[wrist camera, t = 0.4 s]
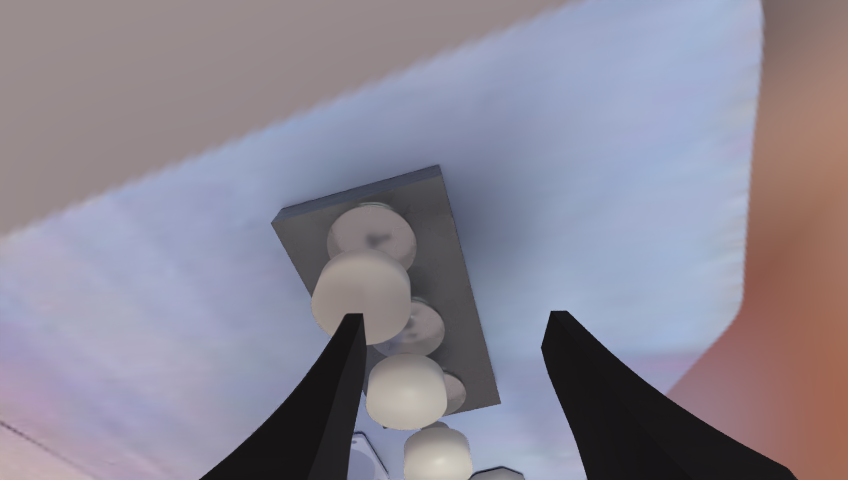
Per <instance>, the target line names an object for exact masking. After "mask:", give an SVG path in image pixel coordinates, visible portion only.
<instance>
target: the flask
mask: <svg viewBox="0 0 848 480" xmlns="http://www.w3.org/2000/svg"><path fill="white" fill-rule="evenodd" d="M469 480H525V479H524V477H523V475H520V474H518V473H515V472H512V471H510V470H507V469H504V468H501V469H497V470H492V471H488V472H484V473H479V474H476V475H475V476H473V477H472V478H471V479H469Z"/></svg>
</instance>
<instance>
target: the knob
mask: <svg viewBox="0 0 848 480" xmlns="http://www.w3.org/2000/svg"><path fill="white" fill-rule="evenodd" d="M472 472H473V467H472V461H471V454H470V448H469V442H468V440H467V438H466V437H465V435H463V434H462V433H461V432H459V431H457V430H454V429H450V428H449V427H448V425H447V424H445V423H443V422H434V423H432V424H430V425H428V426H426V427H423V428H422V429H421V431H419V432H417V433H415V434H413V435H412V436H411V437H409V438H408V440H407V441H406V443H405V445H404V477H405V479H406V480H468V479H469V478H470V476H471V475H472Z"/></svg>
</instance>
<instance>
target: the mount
mask: <svg viewBox="0 0 848 480" xmlns="http://www.w3.org/2000/svg"><path fill="white" fill-rule="evenodd" d="M271 225H272V226H273V228H274V230H275V232H276V234H277V235H278V237H279V239H280V241H281V243H282V245H283V246H284V248H285V250H286V252H287V254H288V255H289V257H290V259H291V261H292V263H293V264H294V266H295V268H296V270H297V272H298V274H299V275H300V277H301V279H302V281H303V283H304V284H305V286H306V288H307V290H308V292H309V294H310V295H311V297H312V296H313V293H314V290H315V288H316V285H317V283H318V280H319V277H320V275H321V272H322V270H323V268H324V267H325V265H326V264H327V263H328V262H329V261H330V260H331V259H332V258H333V257H335V256H336V255H338V254H340V253H342V252H345V251H348V250H352V249H361V248H363V249H374V250H378V251H381V252H384V253H386V254H388V255H390V256H392V257H393V258H394V259H396V260H397V261H398V262H399V263H400V264H401V265H402V266H403V267H404V269H405V270H406V272H407V274H408V276H409V280H410V288H411V313H410V317H409V320H408V322H407V324H406V325H405V327H404V328H403V329H402V330H401V331H400V332H399V333H398V334H397V335H396V336H394V337H392V338H391V339H389V340H386V341H384V342H381V343H377V344H372V345H367V357H366V368H365V377H364V383H363V388H362V390H363V392H364V394H365V395H366V397H367V390H368V381H369V375H370V372H371V370H372V369H373V367H374V366H375V365H376V364H377V363H379V362H380V361H381V360H383V359H385V358H387V357H390V356H393V355H397V354H400V353H406V352H408V353H414V354H418V355H422V356H426V357H428V358H430V359H432V360H433V361H435V362H436V363H437V364H438V365H439V366H440V367H441V369H442V371H443V373H444V379H445V387H446V396H447V408H446V410H445V412H444V414H443V415H442V416H446V415H451V414H455V413H460V412H465V411H469V410H474V409H479V408H483V407H488V406H493V405H497V404H501V401H500V398H499V394H498V390H497V386H496V382H495V378H494V374H493V371H492V367H491V363H490V359H489V355H488V351H487V347H486V344H485V340H484V336H483V332H482V328H481V324H480V320H479V317H478V313H477V309H476V305H475V301H474V297H473V293H472V290H471V286H470V282H469V278H468V274H467V270H466V266H465V262H464V259H463V255H462V251H461V247H460V243H459V239H458V235H457V232H456V228H455V224H454V220H453V216H452V212H451V208H450V205H449V201H448V197H447V193H446V189H445V185H444V181H443V178H442V174H441V170H440V167H439V165H436V166H433V167H429V168H425V169H422V170H418V171H415V172H411V173H408V174H404V175H401V176H397V177H394V178H390V179H387V180H383V181H379V182H376V183H372V184H369V185H365V186H362V187H358V188H355V189H351V190H348V191H344V192H341V193H337V194H333V195H330V196H326V197H323V198H319V199H316V200H312V201H309V202H305V203H302V204H298V205H295V206H291V207H287V208H284V209H282V210H281V211H280V212H279V213H278V215H277V216H276V217H275V219H274V220H273V221H272V222H271ZM442 416H441V417H442ZM383 428H384V429H386V428H387V427H385V426H383Z"/></svg>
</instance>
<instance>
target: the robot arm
mask: <svg viewBox="0 0 848 480" xmlns="http://www.w3.org/2000/svg"><path fill="white" fill-rule="evenodd" d="M541 350H542V353H543V357H544V361H545V365H546V368H547V371H548V374H549V377H550V379H551V382H552V384H553V387H554V389H555V392H556V394H557V397H558V399H559V401H560V404H561V406H562V408H563V411H564V413H565V416H566V418H567V420H568V423H569V425H570V428H571V430H572V433H573V435H574V438H575V441H576V443H577V447H578V450H579V453H580V456H581V459H582V463H583V466H584V469H585V472H586V476H587V479H588V480H798V479H797V478H796V477H795V476H794V475H793V473H792V472H791V471H790V470H789V469H788V468H787V467H785V466H783V465H781V464H779V463H777V462H775V461H773V460H771V459H769V458H768V457H766V456H764V455H762V454H760V453H758V452H756V451H754V450H752V449H750V448H748V447H746V446H744V445H743V444H741V443H739V442H737V441H736V440H734V439H732V438H731V437H729V436H727V435H725V434H724V433H722V432H720V431H718V430H716V429H715V428H713V427H712V426H710V425H708V424H707V423H705V422H704V421H702V420H700V419H699V418H697V417H696V416H694V415H693V414H691V413H689V412H688V411H686V410H685V409H683V408H682V407H680V406H679V405H677V404H676V403H674V402H673V401H672V400H670V399H669V398H667V397H666V396H664V395H663V394H662V393H660V392H659V391H658V390H656V389H655V388H654V387H652V386H651V385H650V384H648V383H647V382H646V381H644V380H643V379H642V378H641V377H639V376H638V375H637V374H636V373H634V372H633V371H632V370H631V369H630V368H628V367H627V366H626V365H625V364H624V363H622V362H621V361H620V360H619V359H618V358H617V357H616V356H614V355H613V354H612V353H611V352H610V351H609V350H608V349H607V348H606V347H604V346H603V345H602V344H601V343H600V342H599V341H598V340H597V339H596V338H595V337H594V336H593V335H592V334H591V333H590V332H589V331H587V330H586V329H585V328H584V327H583V326H582V325H581V324H580V323H579V322H578V321H577V320H576V319H575V318H574V317H573V316H572V315H571V314H570V313H569V312H568V311H551V313H550V317H549V320H548V324H547V328H546V331H545V335H544V339H543V342H542V346H541ZM366 357H367V345H366V336H365V326H364V317H363V313H347V314H346V315H344V317H343V319H342V321H341V323H340V325H339V326H338V328H337V330H336V332H335V333H334V335H333V337H332V338H331V340H330V341H329V343H328V345H327V346H326V348H325V349H324V351H323V352H322V354H321V355H320V357H319V358H318V360H317V361H316V362H315V364H314V365H313V366H312V368H311V369H310V370H309V372H308V373H307V374H306V376H305V377H304V378H303V380H302V381H301V382H300V383H299V385H298V386H297V387H296V388H295V390H294V391H293V392H292V393H291V394H290V395H289V397H288V398H287V399H286V400H285V401H284V402H283V403H282V404H281V405H280V407H279V408H278V409H277V410H276V411H275V412H274V413H273V414H272V415H271V416H270V417H269V418H268V419H267V420H266V421H265V422H264V423H263V424H262V425H261V426H260V427H259V428H258V429H257V430H256V431H255V432H254V433H253V434H252V435H251V436H250V437H248V438H247V439H246V440H245V441H244V442H243V443H242V444H241V445H240V446H239V447H238V448H237V449H235V450H234V451H233V452H232V453H231V454H230V455H229V456H227V457H226V458H225V459H224V460H223V461H221V462H220V463H219V464H218V465H216V466H215V467H214V468H213V469H212V470H210V471H209V472H208V473H207V474H205V475H204V476H203V477H202V478H201V479H199V480H388V474H387V472H386V471H385V469H384V467H383V466H382V464H381V462H380V461H379V459H378V457H377V456H376V454H375V453H374V451H373V449H372V448H371V446H370V444H369V443H368V441H367V439H366V438H365V436H364V435H362V434H356V435H353V432H354V427H355V422H356V417H357V412H358V407H359V402H360V397H361V393H362V388H363V383H364V377H365V368H366Z"/></svg>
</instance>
